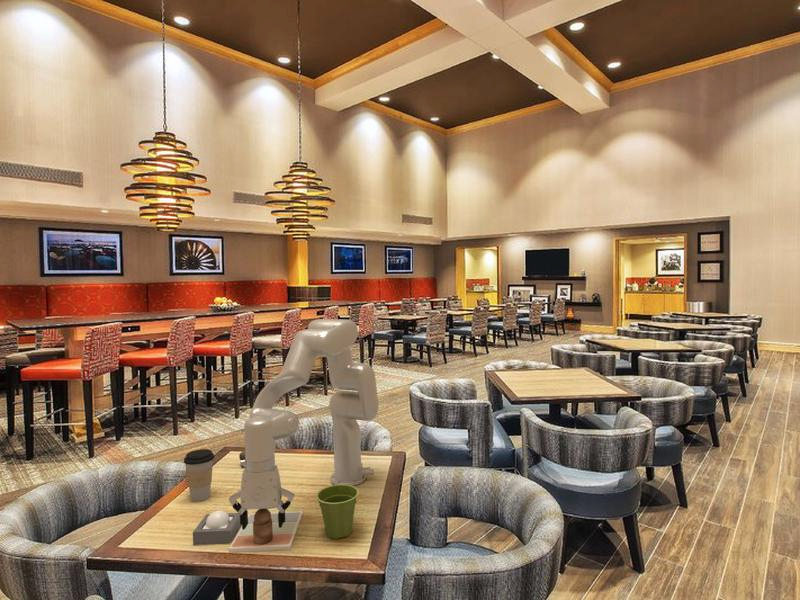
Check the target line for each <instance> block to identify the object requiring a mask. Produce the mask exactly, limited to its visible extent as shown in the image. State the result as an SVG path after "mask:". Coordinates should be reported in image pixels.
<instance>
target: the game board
mask: <svg viewBox="0 0 800 600" xmlns="http://www.w3.org/2000/svg"><path fill="white" fill-rule="evenodd" d="M255 513H256V512H255ZM255 513H248V525H247V527H246V528H245V529H244V530H242V526H240V528H239V530H238V531H237V533H236V535H235V537H234V538H233V540H232V542H231V543H230V546H229V547H228V553H247V552H248V553H249V552H265V551H266V552H268V551H271V552H272V551H288V550H289V551H290V550H291V549H292V546H293V543H294V540H295V537H296V536H297V533H298V532H297V531H298V529H299V525H300V523H301V520H302V517H303V516H304V515H303V510H302V511H301V510H300V511H299V510H298V511H285V523H283V525H282V527H281V528H279V526H278V513H279V511H278V512H277V511H276V512H275V511H274V512H270V513H271V518H272V528H273V539H272V541H271V542H269V543H267V544H263V545H258V544H255V543H254V541H253V521H254V515H255Z"/></svg>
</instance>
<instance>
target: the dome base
mask: <svg viewBox="0 0 800 600" xmlns="http://www.w3.org/2000/svg"><path fill="white" fill-rule="evenodd" d="M226 513H227V512H226ZM210 514H211V513H206V514H205V515H204V517H203V518H202V519H201V520H200V522H199V523H198V525H197V526H195V527H196V528H195V529H194V530H193V531H192V545H193V546H197V545H199V546H200V545H221V544H223V545H224V544H232V542H233V541H234V539H235V537H236V535H237V534H238V532H239V530H240V529H241V527H242V525H240V515H239V514H238V512H231V513H230V512H228V513H227V514H228V515H229V517H233V518H232V520H231V521H230V523H229V525H228V526H227V528H214V529H203V527H204V526H205V525H206V520H207V518H208V516H209V515H210Z"/></svg>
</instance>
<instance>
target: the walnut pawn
mask: <svg viewBox="0 0 800 600" xmlns="http://www.w3.org/2000/svg"><path fill="white" fill-rule="evenodd" d="M271 513H272V512H271V511H270V509H256V511H255V515H254V521H253V541H254V543H255V544H258V545H263V544H267V543H269V542H271V541H272V539H273V528H272V518H271Z"/></svg>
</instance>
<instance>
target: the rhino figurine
mask: <svg viewBox="0 0 800 600" xmlns="http://www.w3.org/2000/svg"><path fill="white" fill-rule="evenodd" d="M238 456H239V460H240V461H241V460H245V449H244V450H242V451H241V452H240V453H239V455H238ZM240 466H241V468H243V469H245V466H243V465H240Z"/></svg>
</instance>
